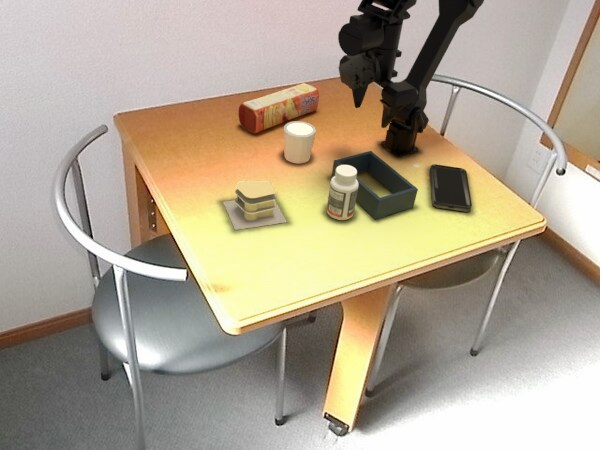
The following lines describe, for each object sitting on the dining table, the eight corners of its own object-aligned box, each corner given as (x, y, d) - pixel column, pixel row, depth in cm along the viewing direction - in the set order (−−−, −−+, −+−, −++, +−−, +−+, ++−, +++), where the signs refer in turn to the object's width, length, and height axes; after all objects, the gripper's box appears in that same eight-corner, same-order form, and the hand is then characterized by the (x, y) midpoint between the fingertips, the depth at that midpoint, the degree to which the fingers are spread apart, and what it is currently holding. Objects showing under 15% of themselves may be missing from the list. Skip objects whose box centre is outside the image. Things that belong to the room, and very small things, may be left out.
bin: (367, 168, 134) (371, 150, 131) (413, 207, 124) (418, 189, 121) (331, 178, 129) (333, 160, 127) (375, 219, 119) (379, 200, 116)
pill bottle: (347, 202, 123) (354, 161, 117) (358, 218, 119) (365, 176, 113) (322, 206, 121) (327, 164, 115) (332, 222, 117) (338, 179, 111)
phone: (466, 168, 135) (472, 208, 123) (464, 173, 136) (470, 212, 124) (430, 163, 135) (432, 202, 123) (428, 167, 136) (431, 206, 124)
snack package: (301, 102, 156) (303, 77, 152) (320, 112, 152) (323, 87, 148) (236, 126, 143) (237, 99, 139) (255, 137, 140) (256, 111, 136)
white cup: (309, 167, 132) (312, 139, 128) (278, 161, 133) (280, 133, 128) (315, 151, 137) (318, 123, 133) (285, 146, 138) (287, 118, 134)
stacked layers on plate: (272, 195, 122) (273, 172, 119) (286, 222, 116) (288, 198, 113) (222, 201, 119) (223, 178, 116) (235, 230, 113) (235, 205, 109)
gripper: (321, 31, 120) (313, 104, 129) (379, 69, 108) (365, 146, 117) (367, 24, 125) (356, 95, 134) (427, 60, 113) (410, 135, 122)
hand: (370, 117), depth 127 cm, fingers open, 9 cm apart
